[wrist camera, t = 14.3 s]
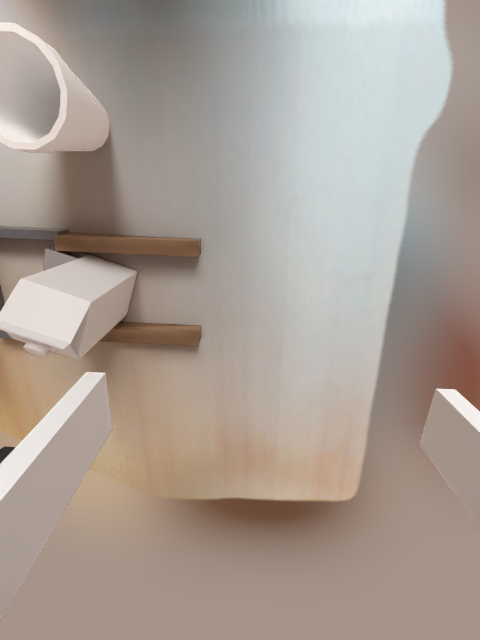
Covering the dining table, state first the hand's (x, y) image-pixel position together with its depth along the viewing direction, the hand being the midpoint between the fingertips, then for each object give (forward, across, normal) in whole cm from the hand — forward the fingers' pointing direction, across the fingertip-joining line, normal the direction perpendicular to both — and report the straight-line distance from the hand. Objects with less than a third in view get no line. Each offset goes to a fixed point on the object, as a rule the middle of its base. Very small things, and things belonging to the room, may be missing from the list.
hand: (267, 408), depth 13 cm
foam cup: (+35, -22, +16) cm, 44 cm away
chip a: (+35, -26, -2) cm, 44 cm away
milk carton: (+35, -21, -5) cm, 41 cm away
